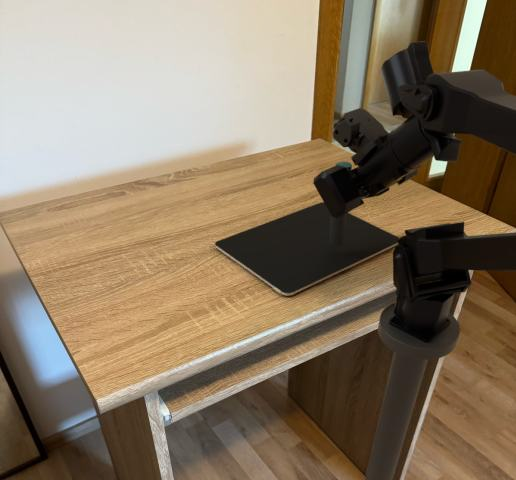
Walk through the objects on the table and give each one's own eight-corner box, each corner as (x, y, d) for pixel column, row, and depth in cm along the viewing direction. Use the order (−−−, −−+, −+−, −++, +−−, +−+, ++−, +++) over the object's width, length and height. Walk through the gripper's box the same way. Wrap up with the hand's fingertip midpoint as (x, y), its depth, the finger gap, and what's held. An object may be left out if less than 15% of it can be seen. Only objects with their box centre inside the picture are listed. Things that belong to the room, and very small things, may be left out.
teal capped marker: (345, 245, 79) (354, 166, 71) (331, 247, 79) (339, 168, 70) (340, 238, 81) (348, 160, 73) (326, 240, 81) (333, 162, 72)
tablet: (286, 295, 73) (211, 243, 85) (285, 299, 73) (211, 246, 85) (403, 239, 85) (324, 201, 97) (402, 243, 85) (323, 204, 97)
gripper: (415, 79, 68) (344, 142, 81) (330, 108, 58) (265, 174, 71) (453, 150, 68) (377, 201, 82) (376, 190, 59) (303, 241, 72)
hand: (332, 202), depth 77 cm, fingers closed on teal capped marker, 2 cm apart
